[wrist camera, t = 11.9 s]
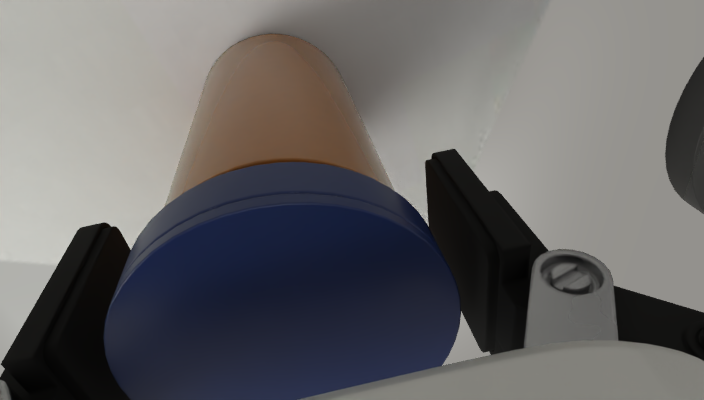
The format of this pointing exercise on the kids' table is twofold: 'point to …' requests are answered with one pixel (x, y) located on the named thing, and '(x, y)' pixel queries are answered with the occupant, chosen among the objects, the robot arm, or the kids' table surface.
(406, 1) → the kids' table surface
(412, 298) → the lid
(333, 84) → the jar
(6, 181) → the kids' table surface
